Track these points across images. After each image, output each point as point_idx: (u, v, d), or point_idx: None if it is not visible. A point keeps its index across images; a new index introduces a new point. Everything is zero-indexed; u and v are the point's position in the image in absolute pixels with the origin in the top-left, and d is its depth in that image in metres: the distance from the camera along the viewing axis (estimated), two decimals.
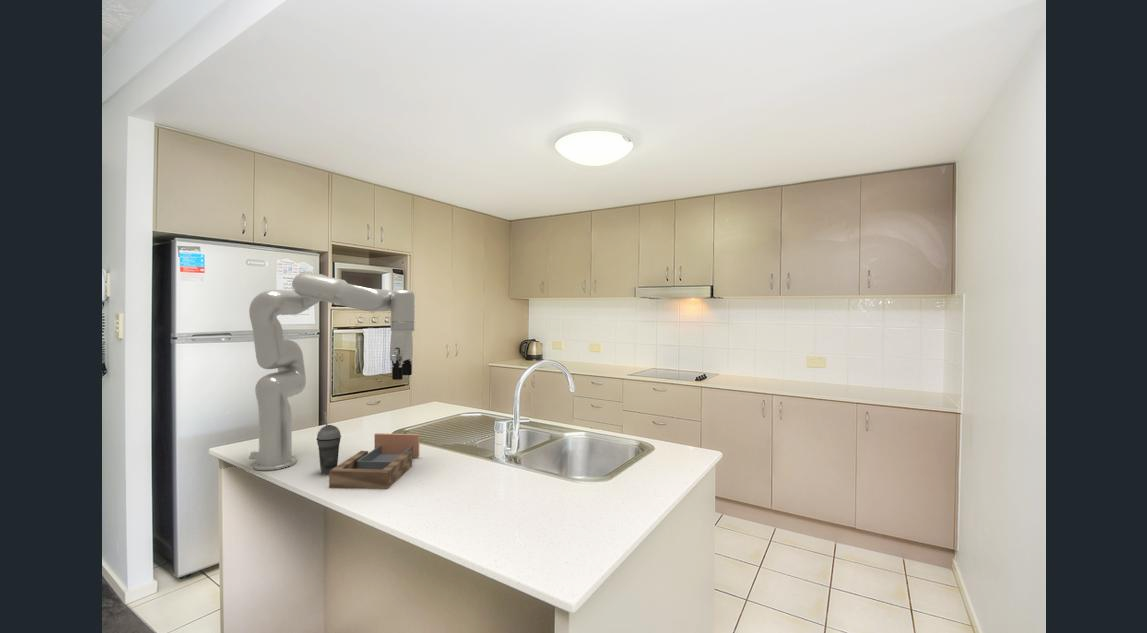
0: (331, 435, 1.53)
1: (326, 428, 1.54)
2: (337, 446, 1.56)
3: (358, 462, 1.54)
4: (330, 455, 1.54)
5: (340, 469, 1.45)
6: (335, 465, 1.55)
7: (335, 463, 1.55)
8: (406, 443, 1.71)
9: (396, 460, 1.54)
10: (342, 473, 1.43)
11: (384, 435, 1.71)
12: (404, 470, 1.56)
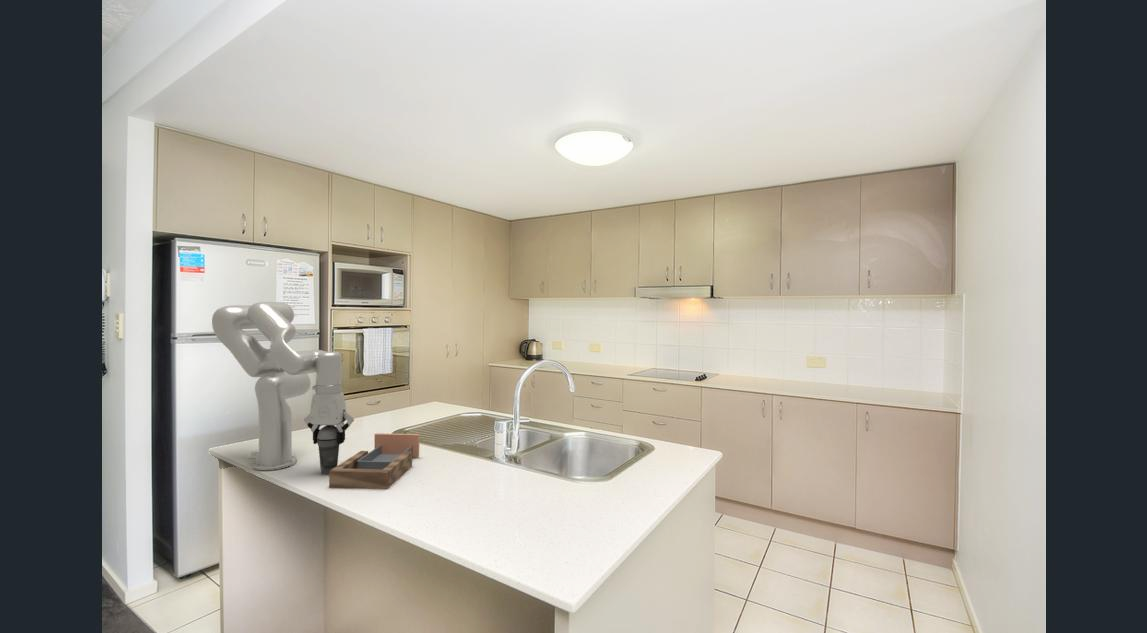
0: (331, 435, 1.53)
1: (326, 428, 1.54)
2: (337, 446, 1.56)
3: (358, 462, 1.54)
4: (330, 455, 1.54)
5: (340, 469, 1.45)
6: (335, 465, 1.55)
7: (335, 463, 1.55)
8: (406, 443, 1.71)
9: (396, 460, 1.54)
10: (342, 473, 1.43)
11: (384, 435, 1.71)
12: (404, 470, 1.56)
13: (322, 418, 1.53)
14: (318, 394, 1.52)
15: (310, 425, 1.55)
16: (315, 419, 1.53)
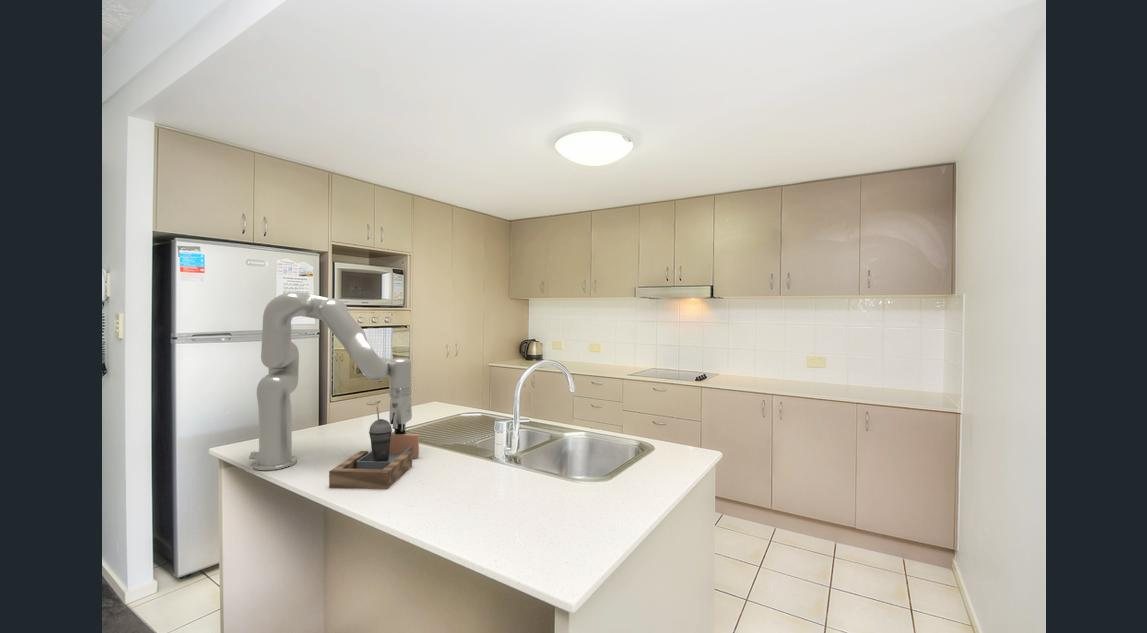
0: (384, 428, 1.56)
1: (378, 422, 1.56)
2: (389, 440, 1.58)
3: (357, 462, 1.53)
4: (382, 449, 1.56)
5: (340, 469, 1.45)
6: (387, 458, 1.58)
7: (387, 456, 1.58)
8: (406, 443, 1.71)
9: (396, 460, 1.54)
10: (342, 473, 1.43)
11: None
12: (404, 470, 1.56)
13: (407, 416, 1.74)
14: (407, 395, 1.73)
15: (400, 427, 1.72)
16: (404, 419, 1.71)
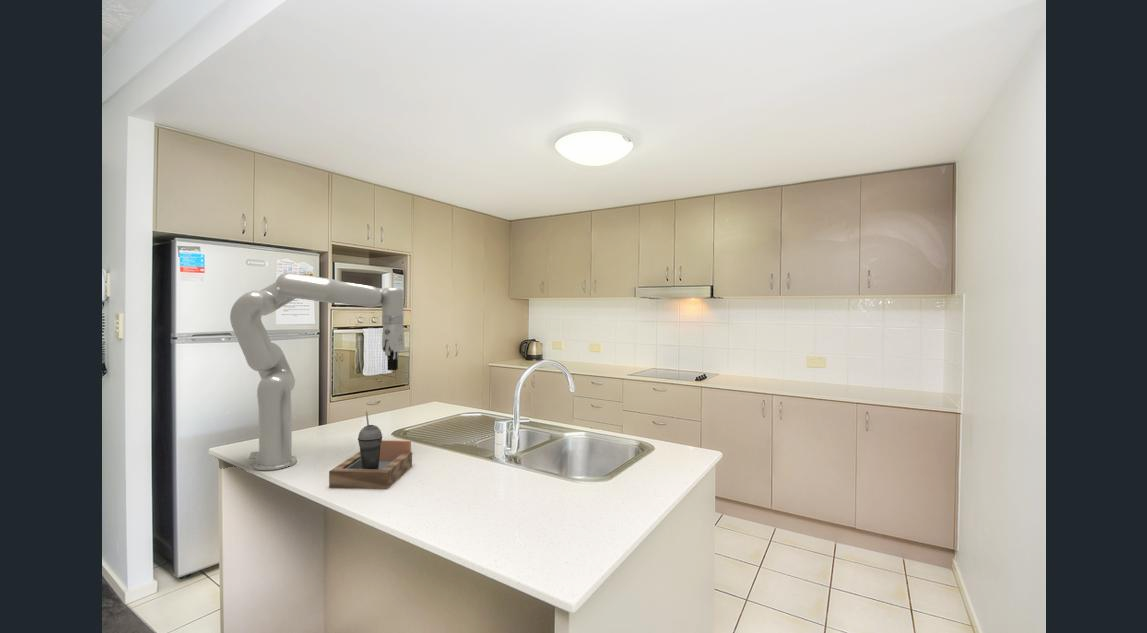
0: (373, 435, 1.48)
1: (368, 428, 1.49)
2: (379, 447, 1.50)
3: None
4: (372, 456, 1.49)
5: (340, 469, 1.45)
6: (377, 466, 1.50)
7: (377, 464, 1.50)
8: (397, 450, 1.63)
9: (396, 460, 1.54)
10: (342, 473, 1.43)
11: None
12: (404, 470, 1.56)
13: (399, 345, 1.76)
14: (400, 323, 1.75)
15: (392, 354, 1.75)
16: (396, 346, 1.74)
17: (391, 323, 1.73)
